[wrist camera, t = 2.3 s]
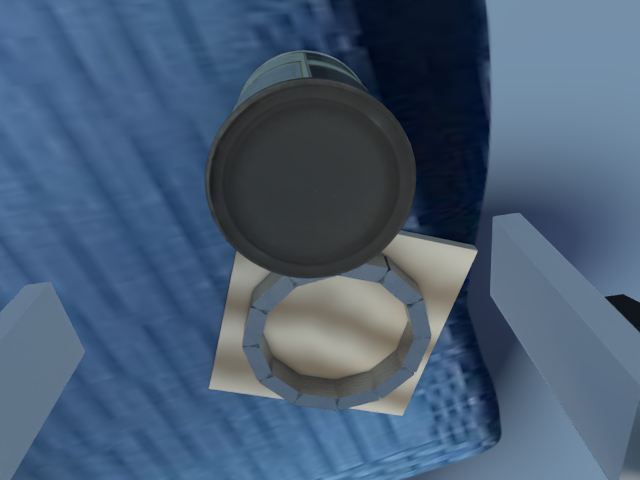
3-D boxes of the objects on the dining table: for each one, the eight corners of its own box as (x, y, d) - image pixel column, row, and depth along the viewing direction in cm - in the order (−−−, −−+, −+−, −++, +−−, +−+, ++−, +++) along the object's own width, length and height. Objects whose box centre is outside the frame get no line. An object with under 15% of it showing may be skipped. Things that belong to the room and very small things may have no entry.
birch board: (400, 408, 50) (402, 415, 49) (210, 381, 46) (209, 388, 46) (473, 245, 41) (477, 250, 40) (246, 197, 38) (245, 202, 37)
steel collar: (390, 399, 48) (395, 418, 46) (233, 376, 45) (230, 396, 43) (447, 266, 41) (457, 281, 39) (266, 230, 38) (264, 244, 36)
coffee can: (376, 49, 33) (429, 80, 21) (366, 185, 38) (405, 278, 26) (229, 46, 33) (193, 77, 20) (238, 186, 37) (213, 281, 25)
